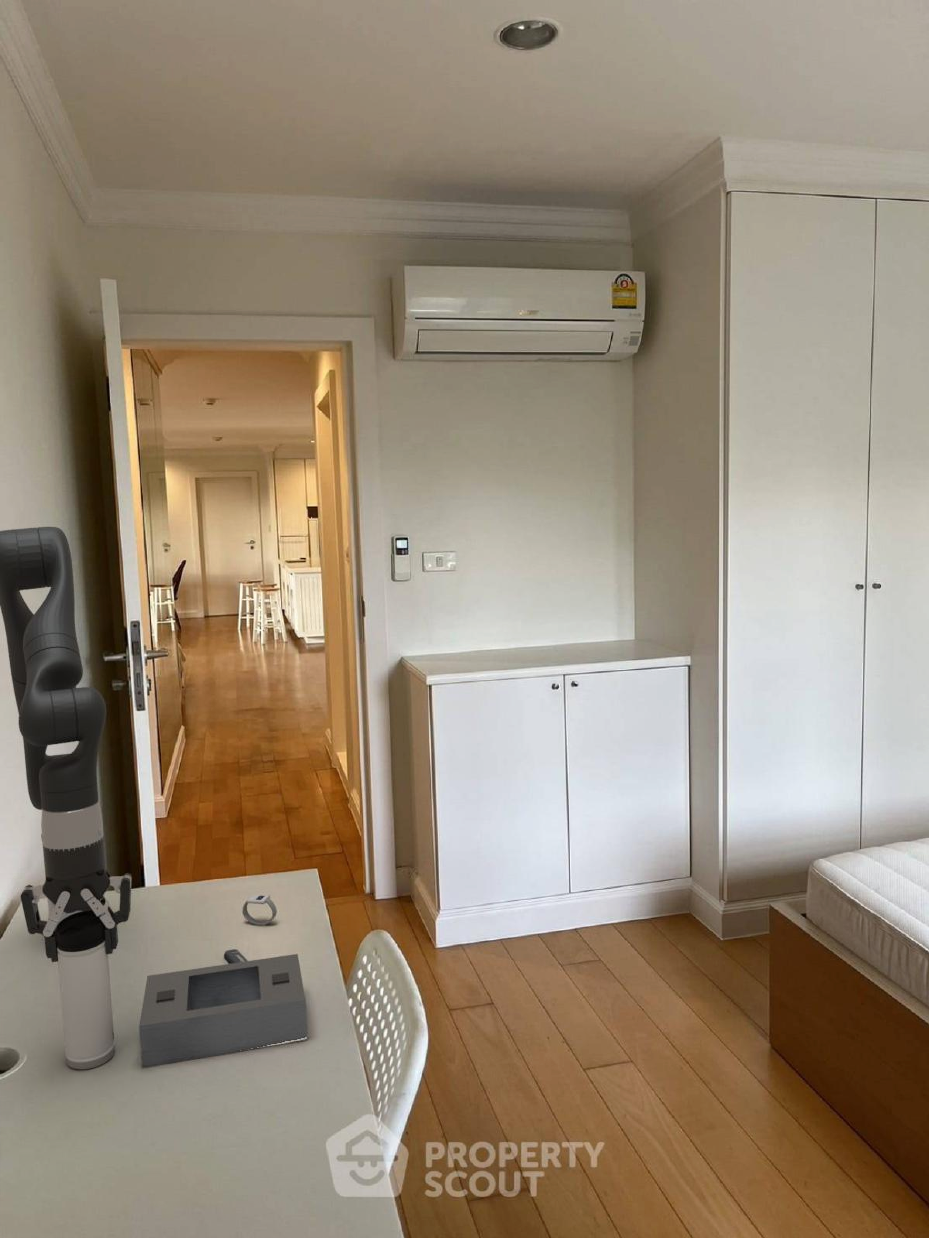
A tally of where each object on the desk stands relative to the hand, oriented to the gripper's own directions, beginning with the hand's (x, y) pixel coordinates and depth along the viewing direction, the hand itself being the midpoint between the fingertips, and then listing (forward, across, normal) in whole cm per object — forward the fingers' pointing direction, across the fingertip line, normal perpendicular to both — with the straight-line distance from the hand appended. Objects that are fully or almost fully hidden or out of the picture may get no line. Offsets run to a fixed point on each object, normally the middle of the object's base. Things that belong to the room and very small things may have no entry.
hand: (83, 955), depth 126 cm
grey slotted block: (+15, -18, -2) cm, 23 cm away
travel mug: (+15, 0, 0) cm, 15 cm away
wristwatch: (+15, -24, -35) cm, 45 cm away
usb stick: (+15, -20, -20) cm, 32 cm away
